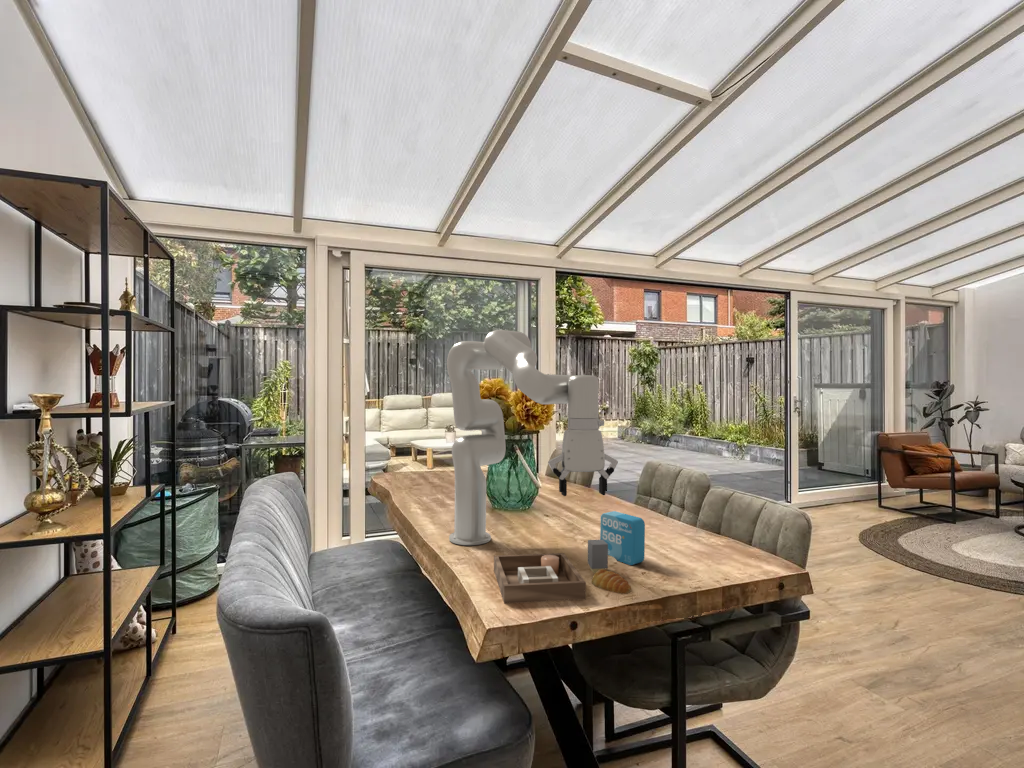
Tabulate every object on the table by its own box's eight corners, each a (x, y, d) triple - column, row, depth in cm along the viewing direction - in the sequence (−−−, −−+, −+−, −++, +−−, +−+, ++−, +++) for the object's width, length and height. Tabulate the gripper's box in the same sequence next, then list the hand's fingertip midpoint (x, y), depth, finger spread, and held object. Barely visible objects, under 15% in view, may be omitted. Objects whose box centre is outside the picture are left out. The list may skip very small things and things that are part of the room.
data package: (599, 555, 151) (600, 512, 151) (610, 551, 154) (611, 509, 153) (633, 567, 141) (634, 521, 141) (644, 563, 144) (645, 518, 144)
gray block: (587, 571, 138) (587, 540, 138) (602, 570, 138) (603, 539, 138) (592, 576, 134) (592, 544, 134) (607, 576, 134) (608, 544, 134)
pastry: (638, 593, 124) (638, 577, 124) (618, 600, 120) (618, 583, 120) (607, 581, 132) (607, 565, 132) (588, 587, 127) (588, 571, 127)
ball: (539, 571, 135) (539, 555, 135) (556, 570, 136) (556, 554, 136) (542, 577, 131) (543, 561, 131) (560, 576, 131) (560, 560, 131)
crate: (493, 573, 135) (493, 555, 135) (563, 570, 138) (563, 553, 138) (504, 606, 116) (504, 586, 116) (585, 602, 118) (585, 582, 118)
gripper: (612, 423, 138) (612, 490, 138) (545, 424, 136) (545, 492, 136) (622, 426, 130) (621, 497, 130) (551, 426, 128) (551, 498, 128)
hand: (583, 494), depth 133 cm, fingers open, 9 cm apart
